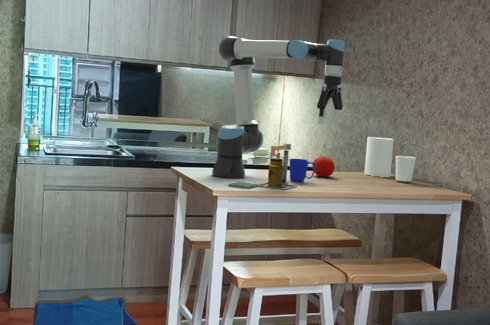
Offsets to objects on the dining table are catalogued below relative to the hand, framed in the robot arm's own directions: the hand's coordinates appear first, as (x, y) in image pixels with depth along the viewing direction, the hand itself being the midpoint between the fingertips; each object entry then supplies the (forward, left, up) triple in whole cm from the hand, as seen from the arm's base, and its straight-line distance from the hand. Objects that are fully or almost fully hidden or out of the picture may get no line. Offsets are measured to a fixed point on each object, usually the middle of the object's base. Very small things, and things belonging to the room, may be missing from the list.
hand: (328, 124), depth 294 cm
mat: (-25, -32, -28) cm, 49 cm away
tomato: (-12, +35, -28) cm, 46 cm away
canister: (+8, +67, -28) cm, 73 cm away
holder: (-15, -20, -28) cm, 37 cm away
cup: (+25, +51, -28) cm, 63 cm away
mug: (-13, +6, -28) cm, 31 cm away
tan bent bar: (-15, -18, -14) cm, 27 cm away
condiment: (-15, -20, -28) cm, 37 cm away
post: (-15, -11, -28) cm, 33 cm away
